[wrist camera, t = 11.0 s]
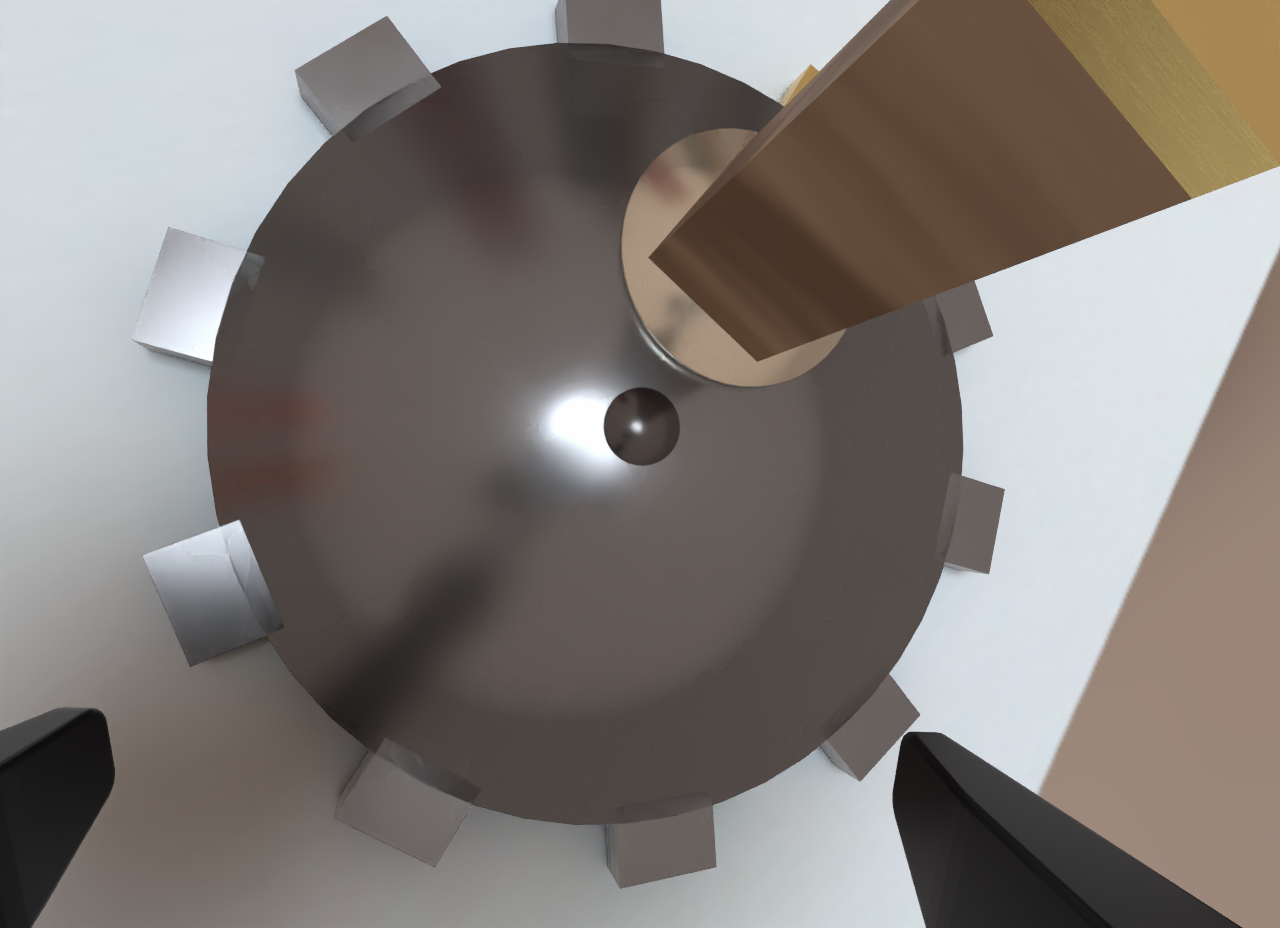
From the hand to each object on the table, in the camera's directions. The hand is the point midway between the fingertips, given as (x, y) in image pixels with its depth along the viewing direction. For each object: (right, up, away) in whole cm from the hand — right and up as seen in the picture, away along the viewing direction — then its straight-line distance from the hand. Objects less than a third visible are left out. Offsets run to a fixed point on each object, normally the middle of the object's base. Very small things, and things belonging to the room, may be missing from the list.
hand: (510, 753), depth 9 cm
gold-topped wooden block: (+4, +9, +12) cm, 16 cm away
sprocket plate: (+1, +4, +12) cm, 13 cm away
